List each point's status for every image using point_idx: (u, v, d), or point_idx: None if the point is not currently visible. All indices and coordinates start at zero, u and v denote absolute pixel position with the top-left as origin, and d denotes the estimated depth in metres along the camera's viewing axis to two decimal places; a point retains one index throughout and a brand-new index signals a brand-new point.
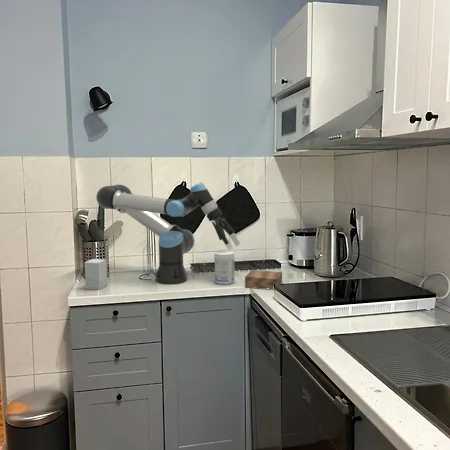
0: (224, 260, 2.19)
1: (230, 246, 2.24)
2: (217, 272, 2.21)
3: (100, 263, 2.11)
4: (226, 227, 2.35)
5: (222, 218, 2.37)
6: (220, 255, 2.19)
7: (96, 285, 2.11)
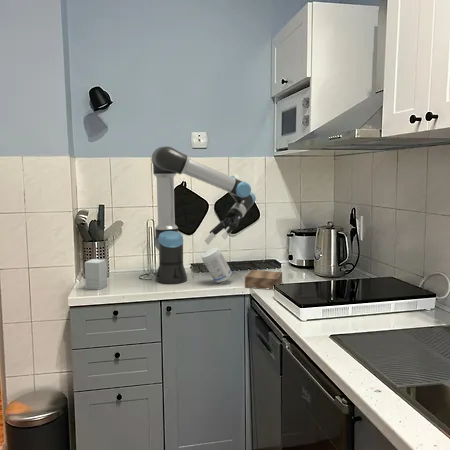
0: (213, 259, 2.17)
1: (225, 235, 2.24)
2: (212, 273, 2.20)
3: (100, 263, 2.11)
4: (221, 228, 2.38)
5: None
6: (207, 257, 2.17)
7: (96, 285, 2.11)
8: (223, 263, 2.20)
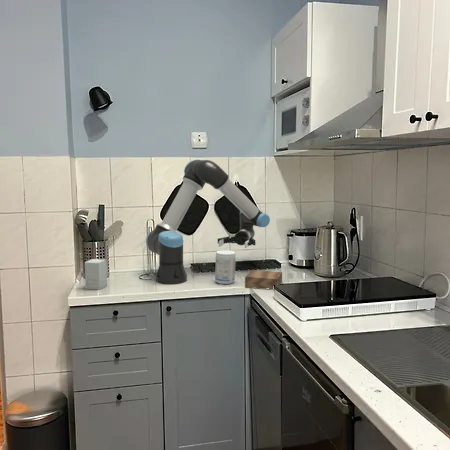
0: (226, 259, 2.19)
1: (247, 245, 2.34)
2: (218, 271, 2.21)
3: (100, 263, 2.11)
4: (230, 241, 2.46)
5: None
6: (222, 255, 2.19)
7: (96, 285, 2.11)
8: (233, 268, 2.21)
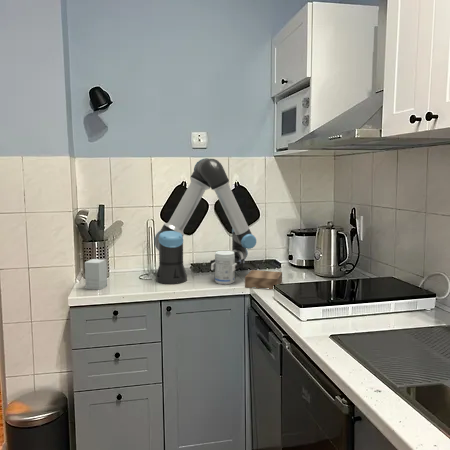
0: (227, 260, 2.19)
1: (234, 269, 2.20)
2: (219, 272, 2.21)
3: (100, 263, 2.11)
4: None
5: None
6: (222, 255, 2.19)
7: (96, 285, 2.11)
8: None
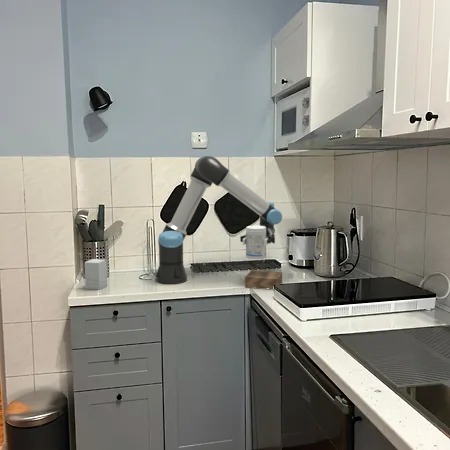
0: (259, 234, 2.15)
1: (266, 243, 2.16)
2: (250, 247, 2.16)
3: (100, 263, 2.11)
4: None
5: None
6: (254, 229, 2.14)
7: (96, 285, 2.11)
8: None
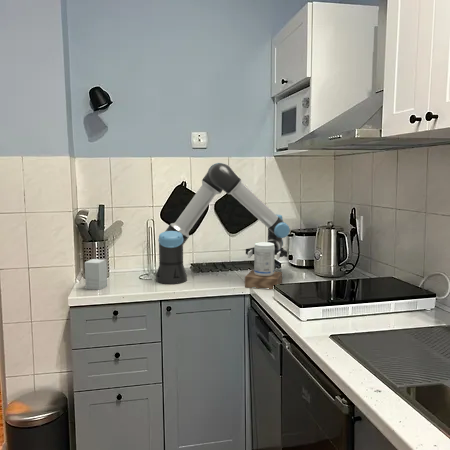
0: (267, 251, 2.14)
1: (278, 257, 2.15)
2: (259, 264, 2.16)
3: (100, 263, 2.11)
4: None
5: None
6: (263, 246, 2.14)
7: (96, 285, 2.11)
8: (273, 259, 2.17)
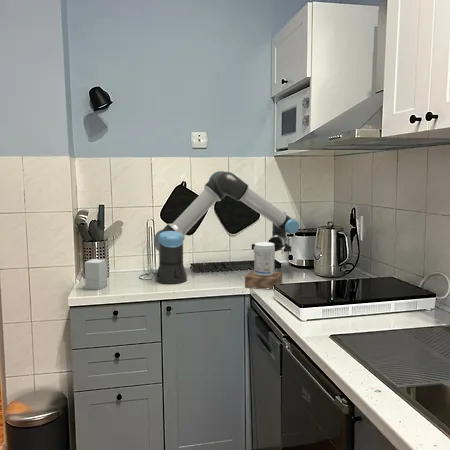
0: (267, 251, 2.14)
1: (283, 252, 2.27)
2: (259, 264, 2.16)
3: (100, 263, 2.11)
4: None
5: None
6: (263, 246, 2.14)
7: (96, 285, 2.11)
8: (273, 259, 2.17)
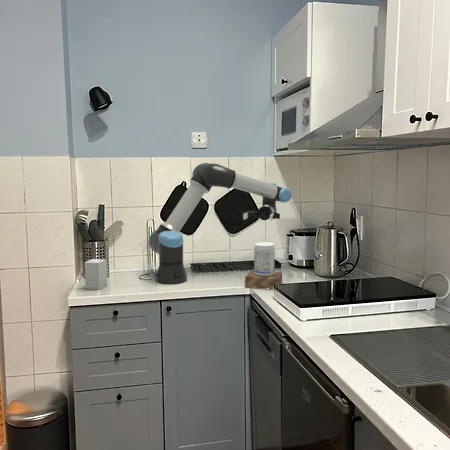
0: (267, 251, 2.14)
1: (272, 218, 2.33)
2: (259, 264, 2.16)
3: (100, 263, 2.11)
4: (254, 215, 2.45)
5: None
6: (263, 246, 2.14)
7: (96, 285, 2.11)
8: (273, 259, 2.17)
